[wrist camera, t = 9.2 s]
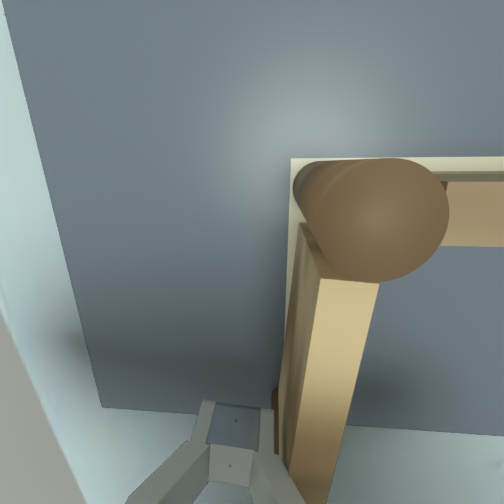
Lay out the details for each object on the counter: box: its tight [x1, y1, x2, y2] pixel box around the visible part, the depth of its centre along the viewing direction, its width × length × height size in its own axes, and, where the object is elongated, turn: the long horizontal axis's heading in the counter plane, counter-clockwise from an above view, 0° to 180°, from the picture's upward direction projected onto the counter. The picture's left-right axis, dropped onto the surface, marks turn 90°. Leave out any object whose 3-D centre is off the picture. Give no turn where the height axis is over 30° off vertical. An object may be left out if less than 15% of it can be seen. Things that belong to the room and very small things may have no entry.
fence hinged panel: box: [271, 223, 379, 504], centre depth 10 cm, size 10×2×6 cm, turn 176°
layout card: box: [2, 0, 504, 436], centre depth 12 cm, size 19×22×1 cm
